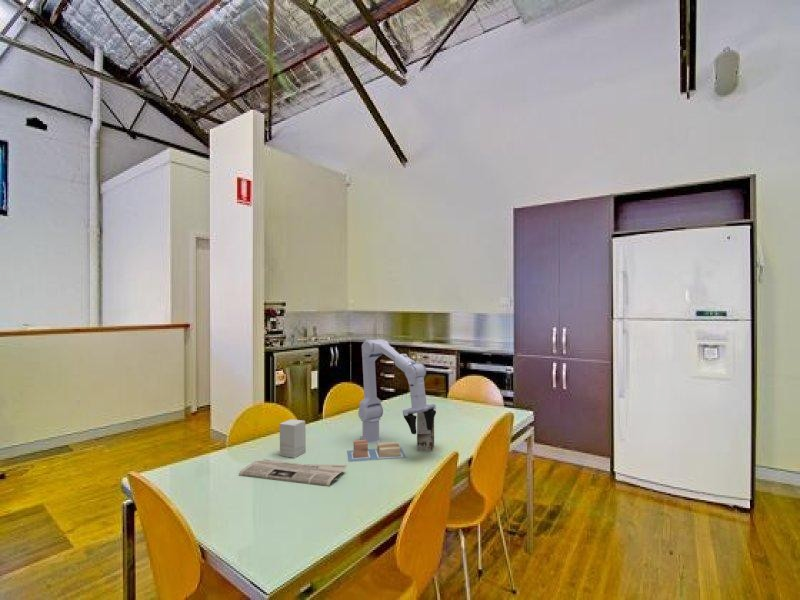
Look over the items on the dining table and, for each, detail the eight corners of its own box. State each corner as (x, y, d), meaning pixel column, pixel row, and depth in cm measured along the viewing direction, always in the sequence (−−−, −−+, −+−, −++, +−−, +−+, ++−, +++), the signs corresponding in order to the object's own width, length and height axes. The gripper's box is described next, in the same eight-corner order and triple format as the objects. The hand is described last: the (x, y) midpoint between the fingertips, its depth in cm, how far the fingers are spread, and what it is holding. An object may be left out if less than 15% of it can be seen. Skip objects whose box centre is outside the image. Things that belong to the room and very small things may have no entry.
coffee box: (432, 453, 163) (432, 412, 164) (416, 452, 164) (416, 411, 165) (434, 445, 172) (434, 406, 173) (419, 444, 173) (419, 406, 174)
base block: (377, 450, 165) (377, 442, 165) (396, 449, 166) (396, 441, 166) (379, 457, 157) (379, 449, 157) (400, 456, 158) (400, 448, 158)
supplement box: (306, 452, 164) (306, 420, 165) (294, 458, 158) (294, 425, 158) (291, 449, 168) (291, 418, 168) (279, 455, 161) (279, 423, 161)
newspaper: (239, 477, 142) (239, 466, 142) (260, 463, 154) (260, 454, 154) (333, 488, 133) (333, 477, 133) (348, 473, 145) (348, 463, 145)
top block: (353, 453, 162) (353, 440, 162) (366, 452, 162) (366, 439, 163) (354, 457, 157) (354, 444, 157) (367, 457, 158) (367, 443, 158)
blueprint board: (346, 452, 165) (346, 450, 165) (400, 448, 169) (400, 447, 169) (348, 463, 153) (348, 461, 153) (406, 459, 157) (406, 457, 157)
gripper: (408, 398, 151) (412, 436, 149) (439, 393, 159) (443, 429, 158) (398, 398, 157) (401, 434, 155) (427, 392, 165) (431, 427, 163)
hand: (421, 431), depth 157 cm, fingers open, 7 cm apart
